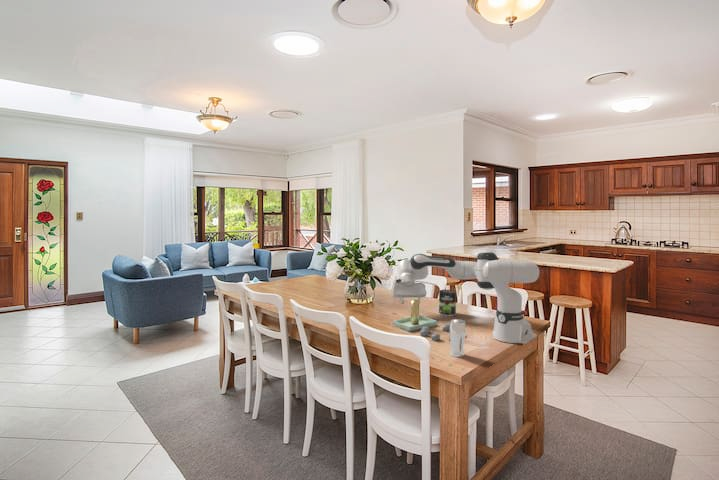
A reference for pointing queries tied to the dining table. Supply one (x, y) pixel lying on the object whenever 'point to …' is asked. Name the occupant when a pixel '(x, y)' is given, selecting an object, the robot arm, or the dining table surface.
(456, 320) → the beer glass
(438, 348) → the dining table surface
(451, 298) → the coffee can
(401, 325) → the tray
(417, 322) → the gold metal cylinder
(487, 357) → the dining table surface
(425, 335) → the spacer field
